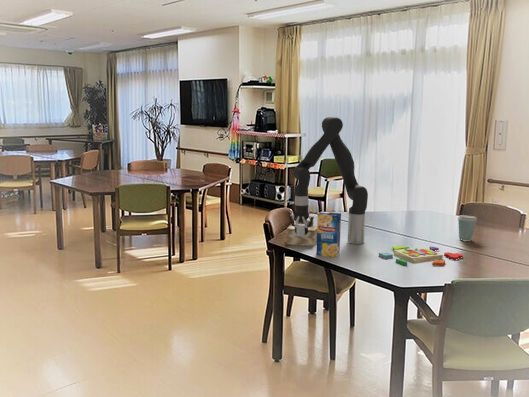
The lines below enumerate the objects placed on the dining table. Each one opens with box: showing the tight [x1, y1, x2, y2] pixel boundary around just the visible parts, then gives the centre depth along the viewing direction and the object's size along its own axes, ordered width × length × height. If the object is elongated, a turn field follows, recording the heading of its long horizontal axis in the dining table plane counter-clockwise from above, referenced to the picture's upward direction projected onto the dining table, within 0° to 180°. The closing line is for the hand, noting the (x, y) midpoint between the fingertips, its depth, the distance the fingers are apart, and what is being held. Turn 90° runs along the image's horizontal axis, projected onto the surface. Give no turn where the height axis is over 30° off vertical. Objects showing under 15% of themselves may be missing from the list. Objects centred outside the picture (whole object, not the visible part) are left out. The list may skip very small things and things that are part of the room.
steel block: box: [297, 224, 306, 237], centre depth 275 cm, size 4×4×6 cm
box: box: [285, 229, 317, 247], centre depth 285 cm, size 16×12×8 cm
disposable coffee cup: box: [457, 214, 478, 241], centre depth 295 cm, size 11×11×15 cm
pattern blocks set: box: [378, 245, 464, 267], centre depth 261 cm, size 38×34×3 cm
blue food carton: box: [315, 211, 342, 258], centre depth 261 cm, size 7×11×22 cm, turn 68°
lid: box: [286, 219, 317, 232], centre depth 284 cm, size 16×12×4 cm
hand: (301, 233), depth 275 cm, fingers closed on steel block, 4 cm apart
